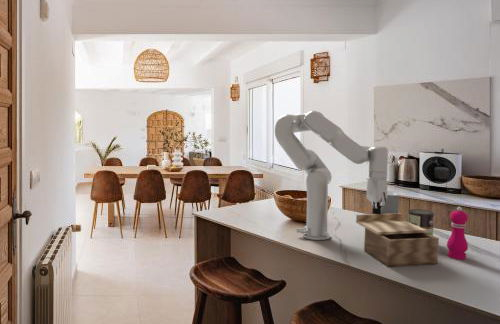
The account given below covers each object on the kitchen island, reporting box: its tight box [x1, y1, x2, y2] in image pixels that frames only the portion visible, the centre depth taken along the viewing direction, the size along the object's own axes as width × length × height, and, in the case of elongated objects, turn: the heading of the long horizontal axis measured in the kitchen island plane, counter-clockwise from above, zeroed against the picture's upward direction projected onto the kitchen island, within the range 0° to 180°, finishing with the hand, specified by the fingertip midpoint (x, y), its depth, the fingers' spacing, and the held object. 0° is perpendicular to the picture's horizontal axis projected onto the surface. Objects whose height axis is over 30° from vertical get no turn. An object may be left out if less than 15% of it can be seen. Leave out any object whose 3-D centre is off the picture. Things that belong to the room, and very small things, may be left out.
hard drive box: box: [381, 190, 400, 214], centre depth 180 cm, size 16×8×20 cm, turn 168°
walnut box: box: [363, 227, 440, 268], centre depth 147 cm, size 20×18×10 cm
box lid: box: [355, 212, 427, 235], centre depth 153 cm, size 20×18×4 cm
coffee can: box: [408, 208, 435, 236], centre depth 166 cm, size 10×10×14 cm
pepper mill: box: [446, 206, 469, 260], centre depth 147 cm, size 7×7×20 cm
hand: (376, 217), depth 164 cm, fingers closed
